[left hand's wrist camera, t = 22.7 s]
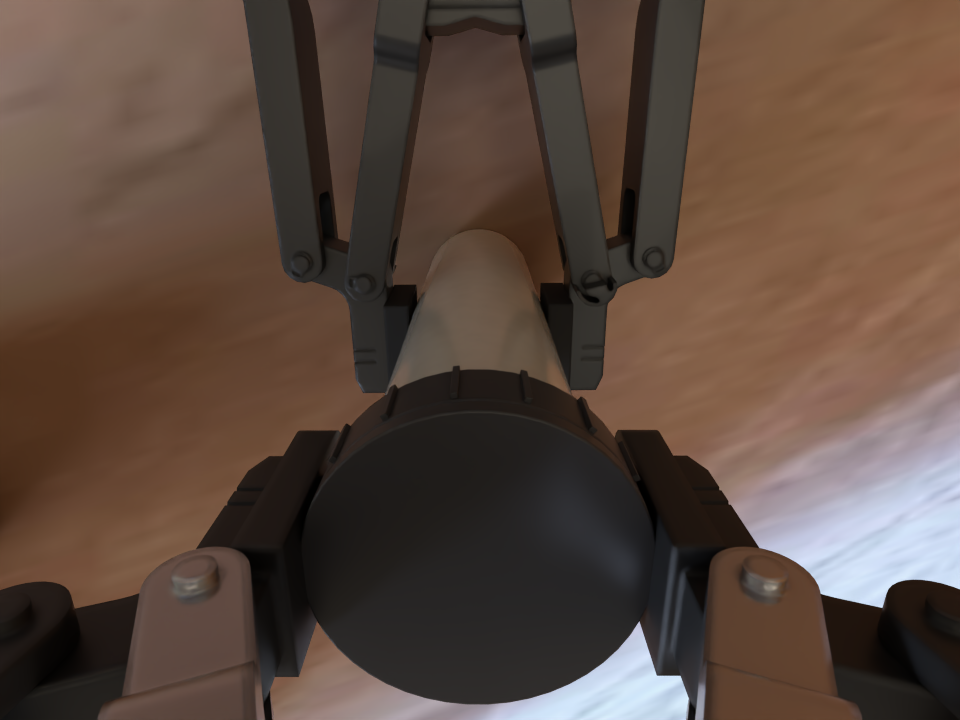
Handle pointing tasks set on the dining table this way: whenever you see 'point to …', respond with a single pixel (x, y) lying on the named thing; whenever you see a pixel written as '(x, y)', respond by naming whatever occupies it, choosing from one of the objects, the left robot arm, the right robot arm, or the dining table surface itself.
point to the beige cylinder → (479, 315)
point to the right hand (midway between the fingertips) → (480, 468)
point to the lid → (478, 539)
